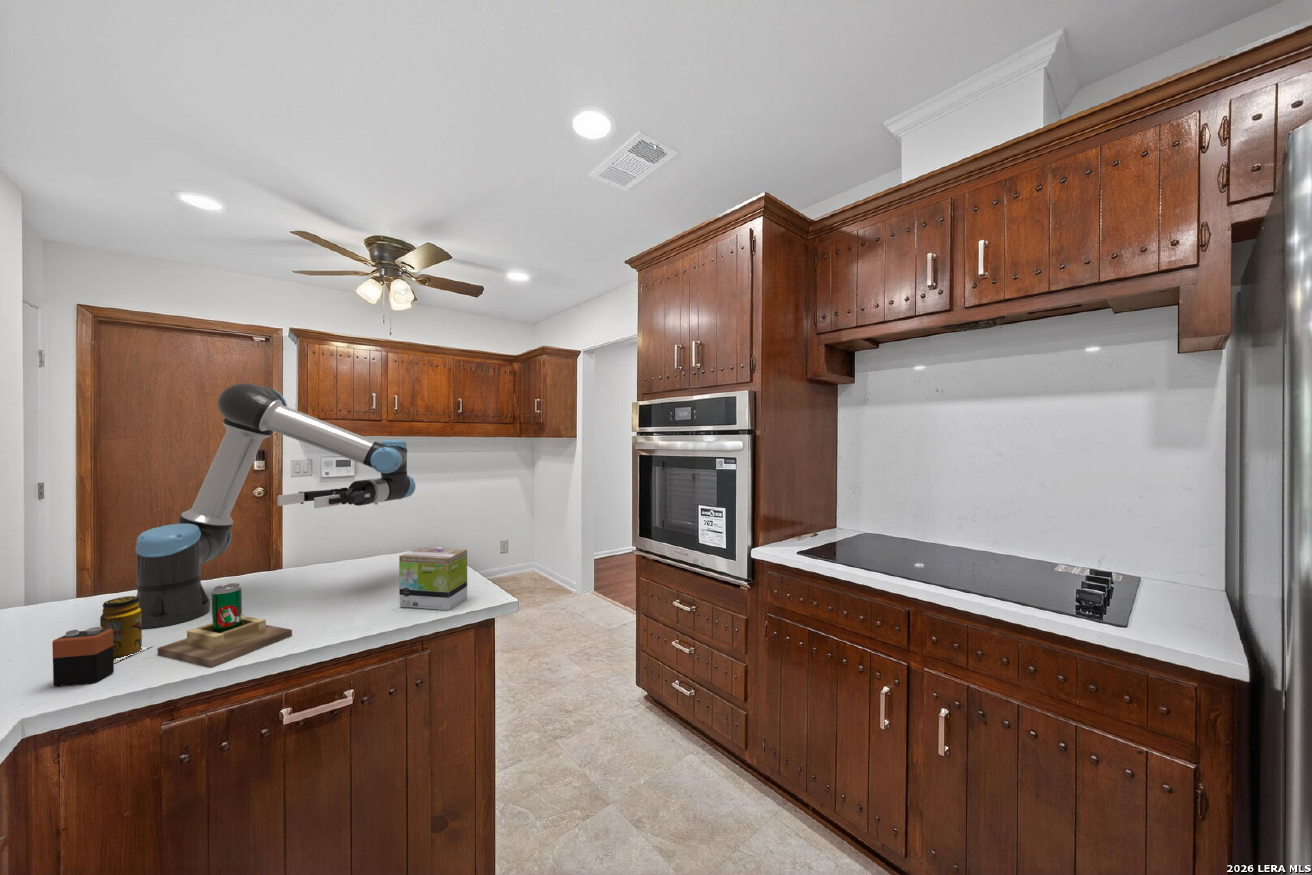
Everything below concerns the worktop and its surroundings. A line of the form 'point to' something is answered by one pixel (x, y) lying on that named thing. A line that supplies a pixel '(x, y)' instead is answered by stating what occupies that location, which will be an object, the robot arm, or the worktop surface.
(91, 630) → the battery
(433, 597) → the tea box
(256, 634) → the collar board
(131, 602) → the condiment
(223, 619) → the soda can
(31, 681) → the worktop surface
